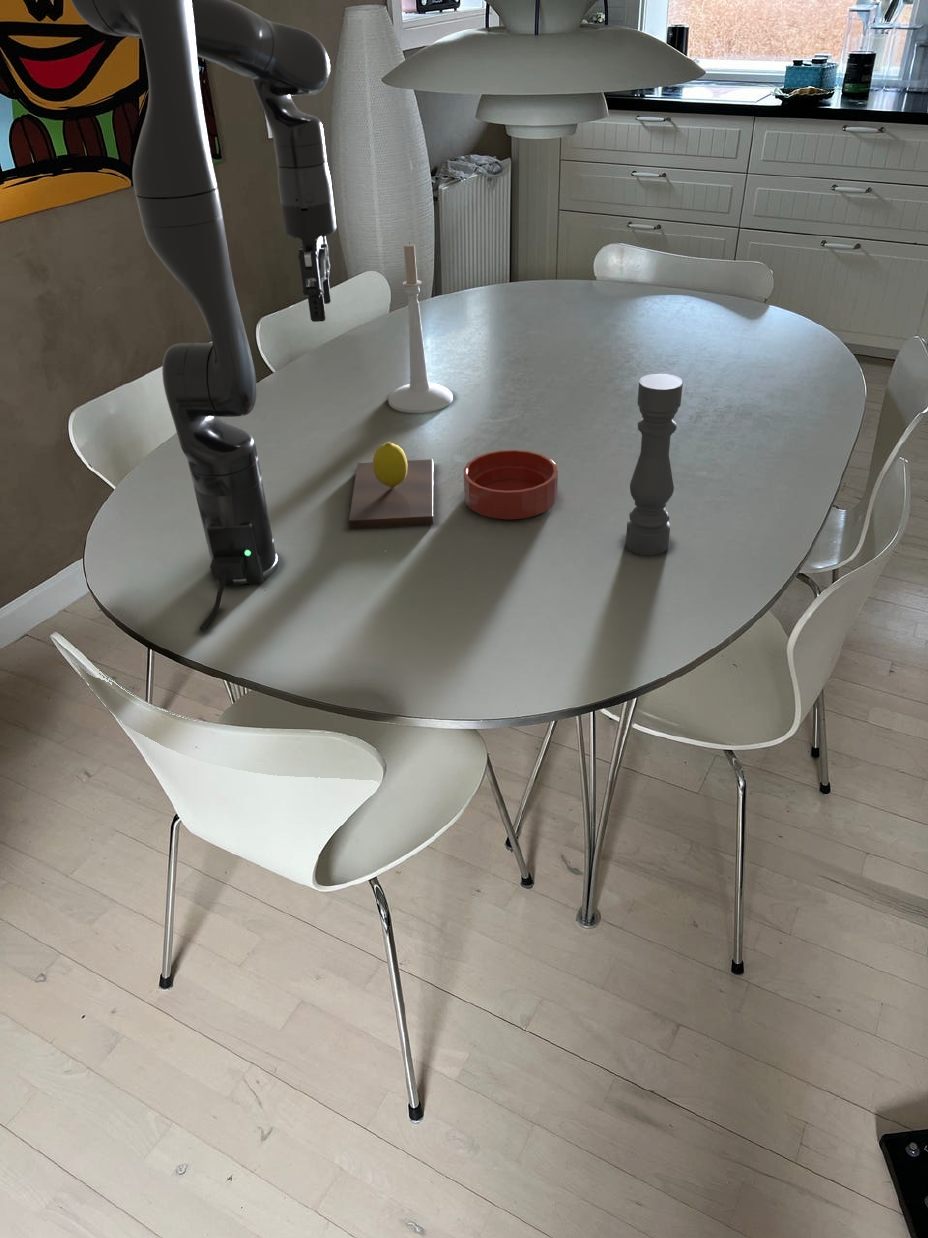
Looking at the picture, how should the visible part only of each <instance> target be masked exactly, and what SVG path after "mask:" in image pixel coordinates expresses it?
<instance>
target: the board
mask: <svg viewBox="0 0 928 1238" xmlns="http://www.w3.org/2000/svg"><path fill="white" fill-rule="evenodd" d="M407 464H408V469H407V475H406V477H405V479H404V480H403V481H402V482H401V483H400V484H398V485H396V486H395V487H394V488H390V487H389V486H386V485H383V484H382V483H380V482H379V481H378V479H377V478H376V476H375V473H374V469H373V461H371V462H357V464H356V470H355V476H354V482H353V483H354V484H353V490H352V497H351V502H350V503H351V504H350V511H349V516H348V524H349V529H350V530H351V529H352V530H353V529H374V528H390V527H391V528H393V527H411V526H412V527H413V526H431V525H434V460H433V458H432V459H416V460H415V459H413V460H412V459H411V460H407Z"/></svg>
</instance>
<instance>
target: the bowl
mask: <svg viewBox="0 0 928 1238" xmlns="http://www.w3.org/2000/svg"><path fill="white" fill-rule="evenodd" d="M462 471H463V485H464V486H463V491H464V493H463V494H464V503H465V504H466V505H467V506H468V508H469V509H470V510H471V511H473V512H475V513H477V514H478V515H481V516H484V517H488V518H491V519H499V520H500V519H501V520H522V519H527V518H532V517H536V516H538V515H540V514H542V513H545V512H547V511H548V510H549V509H550V508H552V507H553V506H554V505H555V504H556V501H557V499H558V482H559V481H558V480H559V479H558V477H559V474H558V473H559V471H558V466H557V464H556V463H555V462H554V461H553V460H552V459H551V458H549V457H547V456H546V455H543V454H541V453H538V452H534V451H530V450H523V449H501V450H495V451H490V452H485V453H483V454H481V455H477V456H475V457H473V458H472V459H471V460H470V461H468V462H467V463H466V465H465V466H464V468H463V470H462Z"/></svg>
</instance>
